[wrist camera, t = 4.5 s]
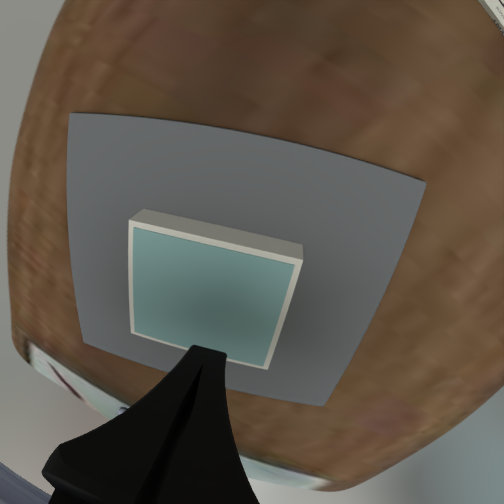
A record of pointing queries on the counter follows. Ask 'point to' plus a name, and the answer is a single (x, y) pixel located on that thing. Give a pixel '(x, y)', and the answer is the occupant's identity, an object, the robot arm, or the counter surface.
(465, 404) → the counter surface
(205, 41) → the counter surface
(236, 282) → the tile
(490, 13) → the chocolate bar
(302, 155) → the mat
